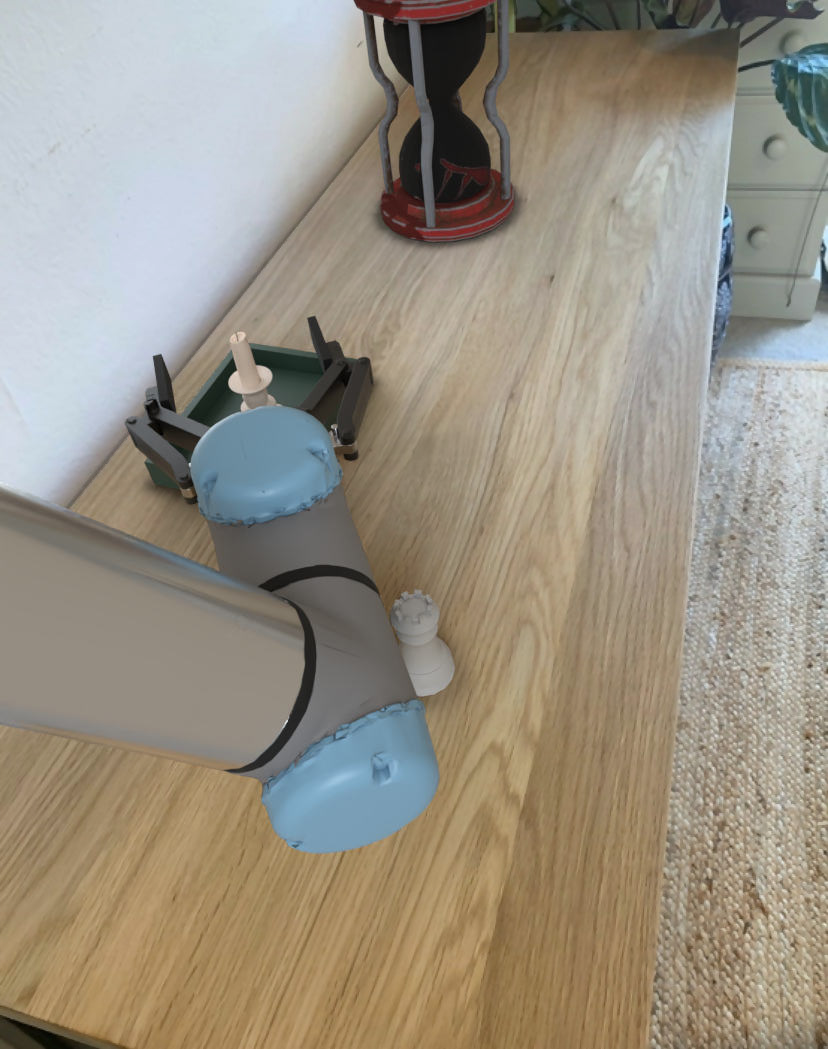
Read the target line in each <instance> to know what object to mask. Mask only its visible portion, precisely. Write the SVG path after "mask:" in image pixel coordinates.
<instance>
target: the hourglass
mask: <svg viewBox="0 0 828 1049" xmlns="http://www.w3.org/2000/svg"><path fill="white" fill-rule="evenodd" d="M353 2H354V5H355V7H356V8H357V9H359V10H360V11H361V12H362V17H363V26H364V33H365V34H364V35H365V41H366V42H365V43H366V50H367V56H368V66H369V68H370V70H371V73H372V75H373V77H374V79H375V80H376V81H377V83H378V84H379V85H380V86H381V87H382V88H383V92H384V95H385V98H386V112H385V115H384V117H383V118H382V119H381V121H380V122H379V127H378V131H377V137H378V144H379V145H378V146H379V152H380V153H379V154H380V161H381V169H382V170H381V171H382V177H383V185H384V190H383V191H382V194H381V197H380V199H379V207H380V214H381V218H382V220H383V222H384V224H385V225H386V226H387V227H388V228H389V229H390V230H392V231H393V232H394V233H396V234H398V235H401V236H402V237H406V238H408V239H411V240H417V241H423V242H429V243H432V242H433V243H440V242H456V241H461V240H467V239H471V238H476V237H478V236H480V235H483V234H485V233H488V232H490V231H494V229H496V228H497V227H498V226H500V225H501V224H503V223H504V222H505V221H507V219H509V216H510V215H511V214H512V212H513V211H514V208H515V186H514V184H513V183H512V182H511V136H510V134H509V131H508V130H509V129H508V127H507V125H506V124H505V123H504V121H503V120H502V119H501V117H500V116H499V113H498V108H497V104H496V99H497V95H498V88H500V86H501V85H502V83H503V82H504V80H506V78H507V74H508V71H509V68H510V19H509V16H510V15H509V13H510V12H509V8H510V7H509V0H353ZM494 3H496V4H497V5H496V8H497V9H496V12H497V13H496V15H497V16H496V17H497V18H496V20H497V63H498V64H497V67H496V69H495V72H494V75H493V77H492V78H491V80H490V81H489V82H488V83H487V84H486V86H485V88H484V92H483V98H482V106H483V109H484V112H485V116H486V119H487V121H488V122H489V123H490V124H491V125H492V126H493V127H494V128H495V130H496V133H497V136H498V137H499V161H500V163H499V164H500V165H499V167H500V171H498V170H497V169H494V168H492V158H491V157H492V156H491V151H490V146H489V143H488V141H487V139H486V137H485V135H484V134H483V132H482V131H481V129H480V127H479V126H478V125H477V124H476V123H475V122H474V121H473V120H472V119H471V118H470V117H469V116H468V115H467V114H466V113H465V112H463V102H462V97H461V95H460V88H461V87H463V85H464V84H465V83H466V81H467V80H468V79H469V77H471V75H472V74H473V72H474V70H475V69H476V68H477V67H478V65H479V63H480V61H481V58H482V56H483V54H484V51H485V48H486V42H487V32H488V30H487V29H488V21H487V20H488V19H487V18H488V17H487V16H488V14H487V9H486V8H487V7H489V6H490V5H493V4H494ZM374 17H378V18H382V19H383V22H382V28H383V29H382V30H383V38H384V43H385V48H386V51H387V55H388V57H389V59H390V61H391V63H392V65H393V66H394V68H395V69H396V71H397V73H398V74H399V75H400V76H401V77H402V78H403V80H405V81H406V82H407V84H409V85H410V86H411V87H412V88H413V91H414V97H415V102H416V106H417V108H418V110H419V117H418V118H417V119H416V120H415V121H414V123H413V124H412V125H411V127H410V128H409V130H408V132H406V134H405V136H404V137H403V141H402V145H401V146H400V151H399V154H398V175H399V177H397V179H394V178H393V170H392V161H391V153H390V152H391V150H390V144H389V131H390V128H391V124H392V123H393V122H394V121H395V119H396V118H397V117H398V113H399V112H398V111H399V106H400V105H399V103H400V99H399V96H398V93H397V90H396V88H395V84H394V82H393V81H392V80H391V79H390V78H389V77H388V76H387V74H385V72H384V69H383V67H382V66H381V63H380V59H379V50H378V41H377V33H376V26H375V18H374Z"/></svg>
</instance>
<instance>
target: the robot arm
mask: <svg viewBox="0 0 828 1049" xmlns="http://www.w3.org/2000/svg"><path fill="white" fill-rule="evenodd" d="M306 320H307V324H308V329H309V333H310V338H311V342H312V346H313V349H314V351H315V353H316V354H317V357H318V359H319V362H320V365H321V367H322V370H323V373H324V375H323V376H322V377H321V379H320V380H319V381H318V382H317V384H316V385H315V386H314V388H313V389H312V390H311V392H310V393H309V394H308V396H307V397H306V398H305V399H304V401H303V402H302V403H301V405H300V406H299V407H297V406H295V407H293V408H291V407H286V406H275V405H273V406H260V407H257V408H255V409H253V410H247V411H245V412H237V413H235V414H232V415H230V416H228V417H226V418H225V419H223V420H221V421H220V422H218V423H216V424H215V425H214V426H213V427H211V428H210V427H208V426H206V425H203V424H201V423H198V422H196V421H194V420H191V419H189V418H187V417H184V416H182V415H181V414H180V413H177V407H176V401H175V395H174V390H173V383H172V378H171V375H170V373H169V370H168V368H167V365H166V362H165V359H164V356H163V354H162V353H158V354H155V355H152V361H153V368H154V369H153V370H154V374H155V375H154V376H155V381H156V385H155V386H150V387H147V388H146V389H145V391H144V392H145V394H144V395H145V401H143V404H142V405H143V408H144V410H145V412H146V413H145V414H144V415H142V416H140V417H139V416H138V415H137V416H136V415H132V416H129V417H127V418H126V419H125V421H124V425H125V427H126V430H127V432H128V434H129V436H130V439H131V441H132V443H133V445H134V447H135V448H136V449H137V450H138V451H139V452H140V453H141V454H143V455H144V456H145V457H146V459H147V458H148V459H149V460H151V461H152V462H153V463H154V464H155V465H156V466H157V467H158V468H159V469H161V470H162V471H163V472H164V473H165V474H166V475H167V476H168V477H169V478H171V479H172V480H173V481H174V482H175V483H176V484H177V485H178V486H179V487H180V492H181V495H182V497H183V499H184V501H185V503H186V504H187V505H190V506H193V505H197V506H198V507H197V508H198V510H199V514H200V515H201V516H202V517H203V518H205V520H206V523H207V526H208V529H209V532H210V536H211V539H212V542H213V547H214V550H215V556H216V561H217V566H218V570H217V569H215V568H212V567H210V566H208V565H206V564H204V563H203V564H202V563H200V562H198V561H196V560H193V559H191V558H188V557H186V556H183V555H181V554H179V553H176V552H173V551H171V550H168V549H166V548H164V547H161V546H159V545H156V544H154V543H152V542H149V541H147V540H144V539H142V538H139V537H137V536H136V535H135V536H134V535H132V534H130V533H128V532H124V531H122V530H119V529H117V528H115V527H112V526H110V525H107V524H105V523H103V522H100V521H98V520H96V519H93V518H91V517H88V516H86V515H83V514H81V513H79V512H76V511H73V510H71V509H68V508H66V507H64V506H61V505H59V504H56V503H54V502H51V501H50V500H47V499H45V498H42V497H39V496H36V495H34V494H32V493H29V492H27V491H24V490H23V489H19V488H17V487H15V486H13V485H10V484H7V483H5V482H2V481H0V726H4V727H9V728H14V729H19V730H22V731H27V732H33V733H37V734H43V735H47V736H52V737H56V738H62V739H66V740H71V741H77V742H81V743H84V744H85V743H86V744H90V745H95V746H100V747H105V748H110V749H115V750H120V751H125V752H129V753H134V754H140V755H144V756H149V757H153V758H159V759H163V760H167V761H172V762H177V763H182V764H187V765H192V766H197V767H202V768H206V769H211V770H216V771H220V772H221V771H222V772H225V773H228V774H231V775H235V776H239V777H244V778H245V777H246V778H251V779H254V780H257V781H259V783H260V784H261V788H262V789H261V796H260V800H261V804H262V805H263V806H264V807H265V810H266V813H267V817H268V818H269V821H270V825H271V827H272V829H273V832H274V833H275V834H276V835H277V836H278V837H279V838H280V840H284V842H285V843H286V845H287V847H290V848H291V849H294V850H296V851H298V852H303V853H308V854H320V855H321V854H322V855H323V854H334V853H342V852H348V851H351V850H356V849H360V848H363V847H366V846H369V845H372V844H375V843H377V842H380V841H382V840H384V839H387V838H388V837H390V836H393V834H395V833H397V832H399V831H400V830H402V829H403V828H404V827H406V826H407V825H409V824H410V823H411V822H413V821H414V820H415V819H417V818H418V817H419V816H421V815H422V814H423V813H424V812H425V811H426V809H428V807H429V806H430V804H431V803H432V801H433V800H434V798H435V796H436V793H437V792H438V788H439V783H440V776H441V775H440V768H439V767H440V766H439V762H438V759H437V755H436V751H435V748H434V743H433V740H432V737H431V734H430V733H431V732H430V730H429V727H428V726H429V725H428V723H427V719H426V710H427V709H426V706H425V704H424V702H423V700H420V699H419V696H417V694H416V692H415V689H414V686H413V683H412V681H411V678H410V675H409V673H408V670H407V667H406V665H405V662H404V659H403V656H402V654H401V651H400V648H399V646H398V645H399V642H398V640H397V637H396V634H395V633H394V629H393V626H392V624H391V622H390V618H389V617H388V614H387V611H386V608H385V606H384V603H383V600H382V597H381V595H380V591H379V588H378V586H377V582H376V579H375V577H374V574H373V570H372V569H371V565H370V563H369V560H368V557H367V553H366V551H365V549H364V546H363V543H362V540H361V537H360V535H359V532H358V529H357V526H356V523H355V521H354V518H353V515H352V512H351V510H350V507H349V504H348V500H347V497H346V493H345V490H344V485H343V480H342V478H343V477H344V471H343V468H342V466H341V464H340V463H339V462H340V460H339V459H338V458H337V456H341V455H343V459H344V460H345V461H346V462H354V461H356V460H358V459H359V457H360V452H359V447H358V441H357V439H358V437H359V433H360V431H361V427H362V423H363V420H364V417H365V414H366V411H367V408H368V405H369V402H370V398H371V395H372V392H373V388H374V386H375V381H374V375H373V368H372V362H371V359H370V357H368V356H361V357H358V358H356V359H357V360H356V362H349V361H347V360H346V359H345V357H346V356H345V354H344V351H343V349H342V346H341V344H340V342H338V340H331V341H327V342H326V339H325V337H324V335H323V332H322V329H321V327H320V324H319V322H318V319H317V316H316V315H312V316H309V317H306ZM342 398H343V400H342ZM341 400H342V403H341V406H340V409H339V412H338V415H337V424H333V425H332V426H331V429H332V430H331V431H330V432H329V433H328V431H327V430H326V428H325V427H324V426H323V425H324V423H325V422H326V420H327V419H328V418H329V416H330V415H331V414H332V412H333V411H334V409H335V408H336V407H337V405H338V404H339V402H340V401H341ZM167 441H168V442H171V443H173V444H175V445H177V446H180V447H182V448H184V449H186V450H188V451H191V452H193V455H192V458H191V463H189V464H188V462H187V460H186V459H185V457H184V456H183V455H182V454H181V453H180V452H178V451H177V450H176V449H175V448H174V447H173V446H171V445H170V444H169V443H168V442H167Z"/></svg>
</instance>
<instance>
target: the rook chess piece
mask: <svg viewBox="0 0 828 1049" xmlns="http://www.w3.org/2000/svg"><path fill="white" fill-rule="evenodd" d="M399 596H400V598H399V599H395V600H394V602H393V604H392V606H391V608H390V611H389V621H390V624H391V626H392V627H393V628H394V630H395V633H396V634H395V636H397V638H398V639H399V643H398V646H399V648H400V651H401V654H402V656H403V659H404V662H405V665H406V667H407V670H408V673H409V675H410V678H411V681H412V683H413V686H414V689H415V692H416V694H417V697H426V696H433V695H436V694H438V693H439V692H441V691H443V690H444V689H446V688H447V687H448V685H449V684H450V682H451V681H452V680H453V678H454V675H455V670H456V667H455V661H454V658H453V653H452V651H451V649H450V647H449V646H448V645H447V644H446V642H445V641H444V640H443V639H441V638H440V637H439V636H438V634H437V633H438V629H439V625H438V622H439V619H440V615H441V612H440V606H439V604H438V603H437V602H436V600H434V599H433V598H432V597H431V596H430V595H429V593H427V594H423V590H422V589H421V590H420V589H414V590H413V593H412V594H409V593H408V590H406V591H404V592H402V593H400V594H399Z"/></svg>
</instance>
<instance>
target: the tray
mask: <svg viewBox="0 0 828 1049" xmlns="http://www.w3.org/2000/svg"><path fill="white" fill-rule="evenodd" d="M248 343H249V346H250V349H251V352H252V355H253V358H254V361H255V364H256V365H259V366H264V367H266V368H268V369H269V370H270V371H271V373H272V375H273V376H272V381H271V383H270V384H269V385H268V386H267V387H266V389H267V393H268V395H271V396H272V397H273V398H274V399H275V401H276V404H280V405H282V406H286V407H291V408H293V407H295V406H297V407H299V406H300V405H301V403H302V402H303V401H304V399H305V398H306V397H307V396H308V394H309V393H310V392H311V390H312V389H313V388H314V386H315V385H316V384H317V382H318V381H319V380H320V379H321V377H322V376H323V375H324V373H323V370H322V367H321V365H320V362H319V359H318V357H317V354H316V352H313V351H307V350H300V349H294V348H286V347H282V346H281V347H280V346H274V345H267V344H261V343H254V342H248ZM345 359H346V360H347V361H349V362H356V360H357V359H358V358H354V357H346V356H345ZM236 371H237V367H236V364H235V360H234V357H233V353H232V349H231V348H230V350H229V352H228V353H227V354H226V355H225V357H224V358H223V359H222V361H221V362H220V363H219V364H218V366H217V367H216V368H215V369H214V371H213V372H212V374H210V376H209V377H208V379H207V380H206V382H205V383H203V386H202V387H201V388H200V389H199V391H198V392H197V393H196V395H195V396H194V397H193V398H192V400H191V401H190V402H189V403H188V405H187V406H186V407H185V409H184V410H183V411H182V412H181V414H180V415H182V416H184V417H187V418H189V419H191V420H194V421H196V422H198V423H201V424H203V425H206V426H208V427H210V428H211V427H213V426H214V425H215V424H216V423H218V422H220V421H221V420H223V419H225V418H226V417H228V416H230V415H232V414H235V413H237V412H241V405H242V403H243V401H244V400H243V397H242V394H239V393H236V392H234V391H232V390H231V389H230V387H229V384H228V382H229V379H230V377H231V375H232V374H233V373H234V372H236ZM342 400H343V398H342ZM342 400H341V401H340V402H339V404H338V405H337V407H336V408H335V409H334V411H333V412H332V414H331V415H330V416H329V418H328V419H327V420H326V422H325V423H324V425H323V426H324V427H325V428H326V430H327V431H328V433H329V432H330V431H331V430H332V429H331V426H332V425H333V424H337V415H338V412H339V409H340V406H341V403H342ZM167 442H168V441H167ZM168 443H169V444H170V445H171V446H173V447H174V448H175V449H176V450H177V451H178V452H180V453H181V454H182V455H183V456H184V457H185V459H186V460H187V462H188V464H189V463H191V458H192V455H193V452H191V451H188V450H186V449H184V448H182V447H180V446H177V445H175V444H173V443H171V442H168ZM144 465H145V468H146V470H147V471H148V473H149V476H150V478H151V480H152V483H153V484H154V485H156V486H161V487H164V488H168V489H169V488H170V489H174V490H180V487H179V486H178V485H177V484H176V483H175V482H174V481H173V480H172V479H171V478H169V477H168V476H167V475H166V474H165V473H164V472H163V471H162V470H161V469H159V468H158V467H157V466H156V465H155V464H154V463H153V462H152V461H151V460H149V459H148V458H147V457H146V459H145V460H144ZM180 491H181V490H180Z"/></svg>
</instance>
